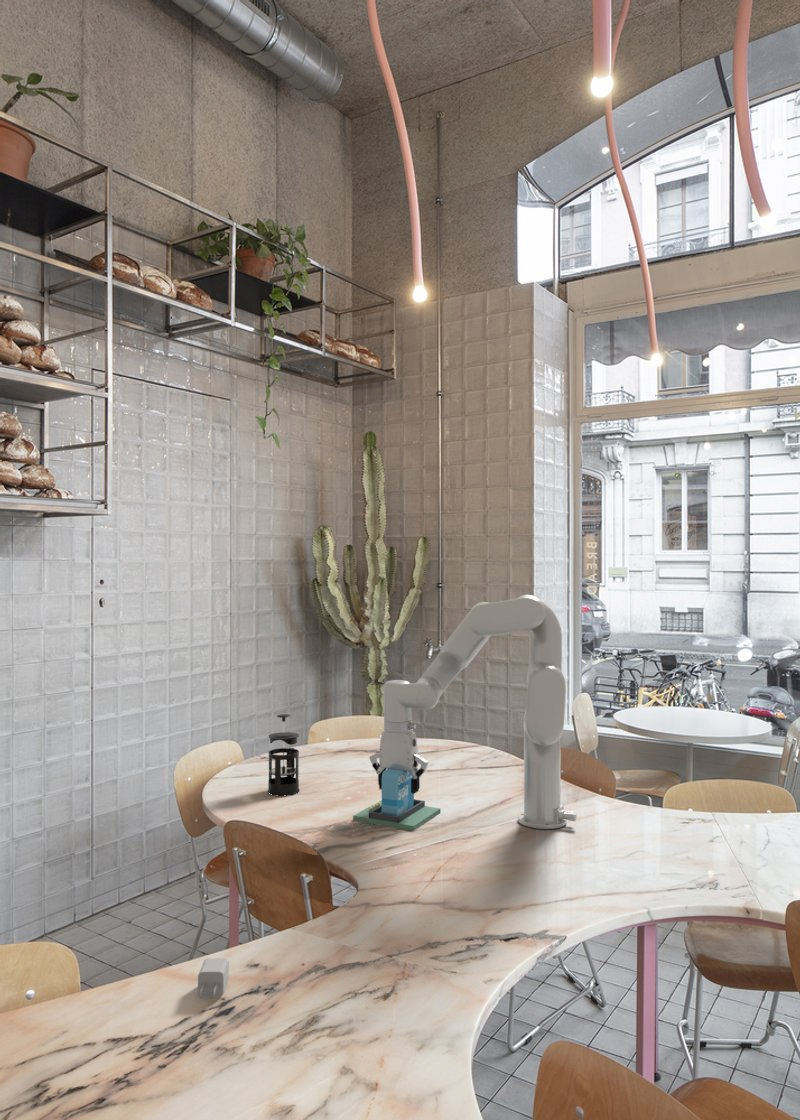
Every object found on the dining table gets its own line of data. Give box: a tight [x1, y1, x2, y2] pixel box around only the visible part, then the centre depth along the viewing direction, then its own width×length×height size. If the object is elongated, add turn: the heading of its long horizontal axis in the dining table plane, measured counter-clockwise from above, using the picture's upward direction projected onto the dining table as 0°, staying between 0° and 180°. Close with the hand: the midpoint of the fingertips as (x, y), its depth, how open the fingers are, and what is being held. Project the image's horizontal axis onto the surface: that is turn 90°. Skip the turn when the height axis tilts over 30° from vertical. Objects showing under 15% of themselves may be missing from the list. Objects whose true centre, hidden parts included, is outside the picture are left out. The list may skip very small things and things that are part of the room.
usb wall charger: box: [197, 957, 230, 998], centre depth 126 cm, size 4×7×4 cm, turn 2°
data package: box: [381, 768, 415, 816], centre depth 214 cm, size 12×4×12 cm, turn 157°
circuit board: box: [352, 798, 441, 832], centre depth 214 cm, size 18×16×3 cm
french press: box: [267, 713, 300, 797], centre depth 238 cm, size 12×9×23 cm
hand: (398, 790), depth 214 cm, fingers open, 9 cm apart
